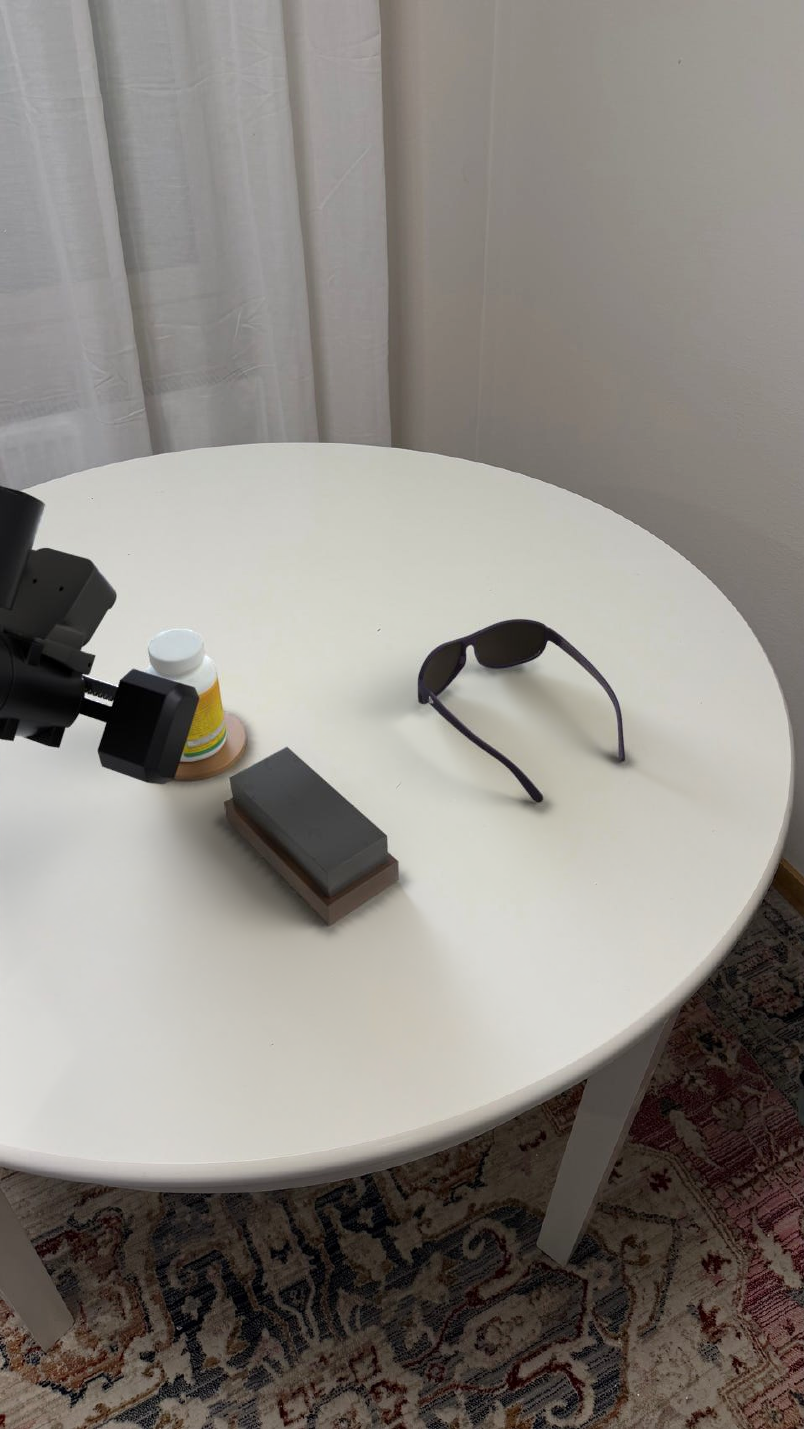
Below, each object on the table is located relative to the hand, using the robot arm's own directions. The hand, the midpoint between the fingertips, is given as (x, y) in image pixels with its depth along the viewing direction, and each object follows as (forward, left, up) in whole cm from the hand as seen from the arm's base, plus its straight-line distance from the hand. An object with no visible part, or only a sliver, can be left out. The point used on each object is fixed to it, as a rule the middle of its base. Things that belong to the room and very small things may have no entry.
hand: (130, 712), depth 71 cm
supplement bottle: (+4, +4, -8) cm, 10 cm away
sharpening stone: (+9, -10, -8) cm, 16 cm away
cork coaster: (+4, +4, -8) cm, 10 cm away
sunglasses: (+29, -4, -8) cm, 31 cm away
